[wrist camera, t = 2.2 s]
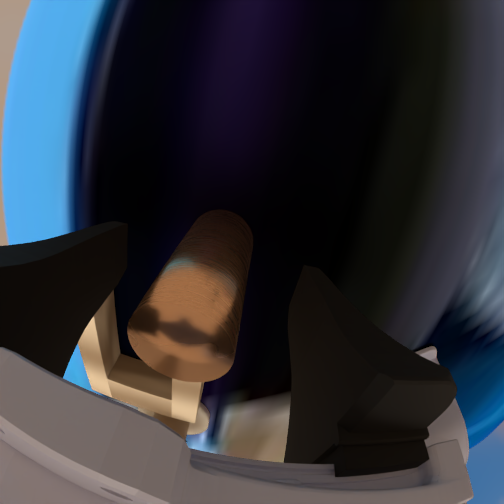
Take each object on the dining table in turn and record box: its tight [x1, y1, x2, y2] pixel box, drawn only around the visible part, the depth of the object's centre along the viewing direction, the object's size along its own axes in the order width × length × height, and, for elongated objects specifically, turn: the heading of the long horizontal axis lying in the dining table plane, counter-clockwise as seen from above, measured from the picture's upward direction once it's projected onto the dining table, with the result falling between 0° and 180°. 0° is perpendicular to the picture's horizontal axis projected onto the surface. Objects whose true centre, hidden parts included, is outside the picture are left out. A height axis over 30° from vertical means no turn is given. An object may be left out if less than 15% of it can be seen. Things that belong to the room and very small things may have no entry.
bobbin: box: [138, 402, 210, 441], centre depth 18 cm, size 6×6×6 cm
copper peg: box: [128, 210, 253, 382], centre depth 10 cm, size 3×3×7 cm
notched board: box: [78, 290, 204, 423], centre depth 16 cm, size 10×8×2 cm
